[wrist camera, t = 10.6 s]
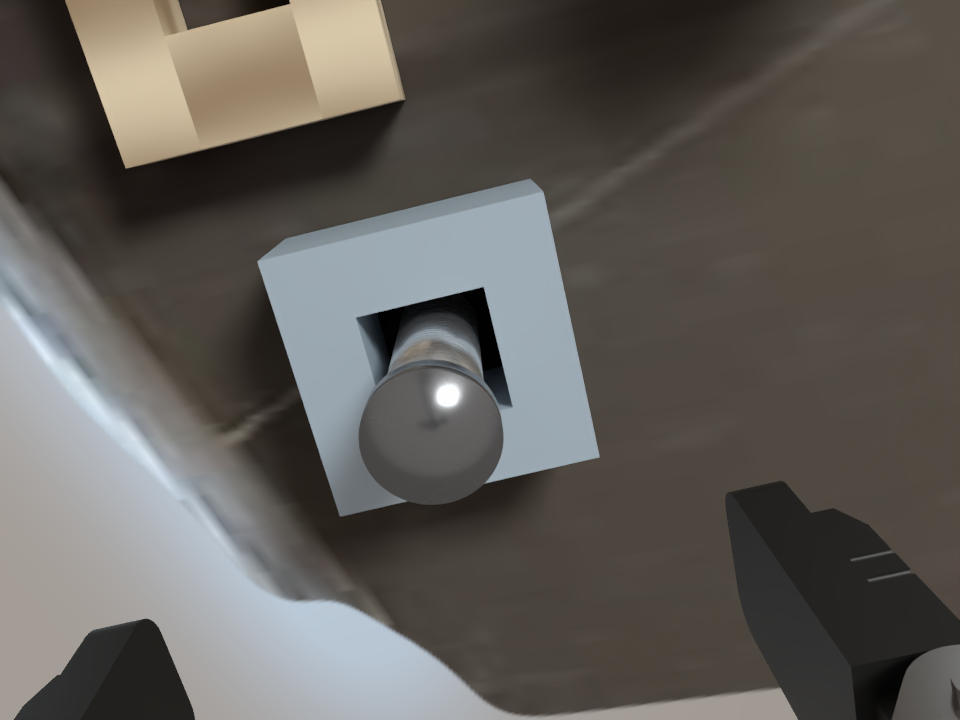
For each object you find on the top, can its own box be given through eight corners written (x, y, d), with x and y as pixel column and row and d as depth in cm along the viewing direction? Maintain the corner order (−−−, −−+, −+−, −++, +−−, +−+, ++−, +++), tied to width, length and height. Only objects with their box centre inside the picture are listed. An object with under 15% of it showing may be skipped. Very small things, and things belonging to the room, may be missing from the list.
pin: (379, 292, 34) (340, 389, 22) (474, 269, 34) (484, 355, 22) (404, 382, 35) (380, 518, 23) (497, 360, 35) (517, 487, 23)
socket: (285, 238, 33) (257, 261, 28) (530, 178, 33) (543, 191, 28) (355, 461, 36) (340, 516, 31) (580, 409, 35) (599, 457, 31)
